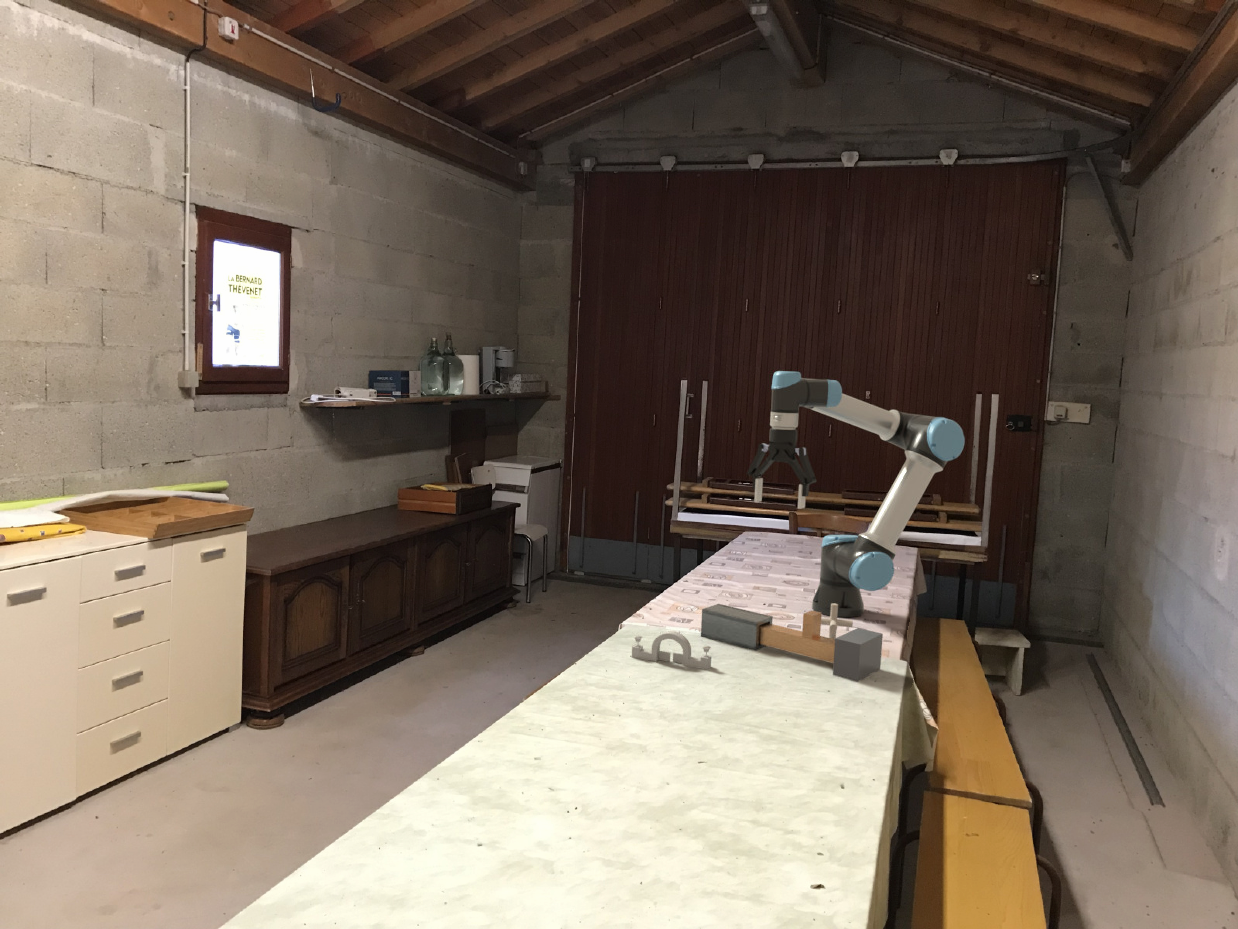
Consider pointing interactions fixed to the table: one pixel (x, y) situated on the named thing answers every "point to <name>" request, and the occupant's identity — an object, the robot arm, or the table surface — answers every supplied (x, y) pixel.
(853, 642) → the socket block
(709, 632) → the sleeve
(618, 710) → the table surface
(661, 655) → the gateway
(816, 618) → the orange-brown sliding bolt
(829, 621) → the cream cross joint
